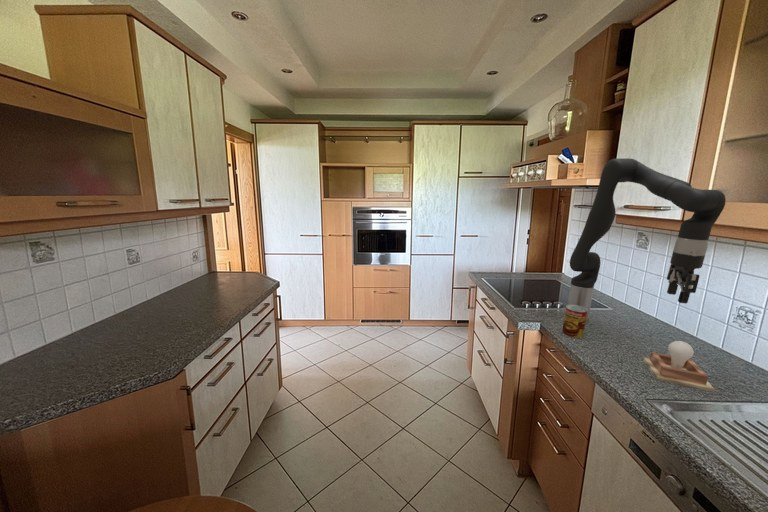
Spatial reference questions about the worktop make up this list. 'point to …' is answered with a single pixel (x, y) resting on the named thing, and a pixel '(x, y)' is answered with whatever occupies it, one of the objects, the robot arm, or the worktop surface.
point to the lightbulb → (679, 353)
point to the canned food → (574, 321)
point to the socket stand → (677, 372)
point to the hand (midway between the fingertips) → (676, 298)
